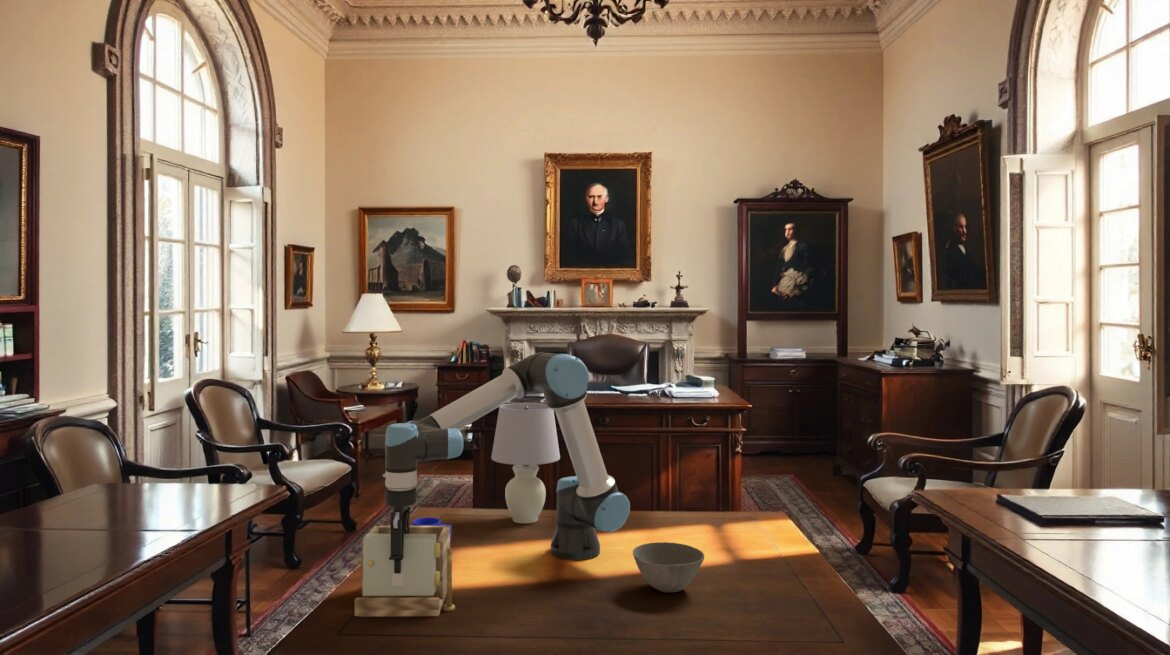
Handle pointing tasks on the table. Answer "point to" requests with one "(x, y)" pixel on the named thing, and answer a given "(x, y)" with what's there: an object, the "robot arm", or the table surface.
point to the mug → (430, 523)
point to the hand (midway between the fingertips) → (399, 581)
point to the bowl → (668, 564)
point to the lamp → (525, 455)
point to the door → (417, 565)
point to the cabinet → (414, 603)
